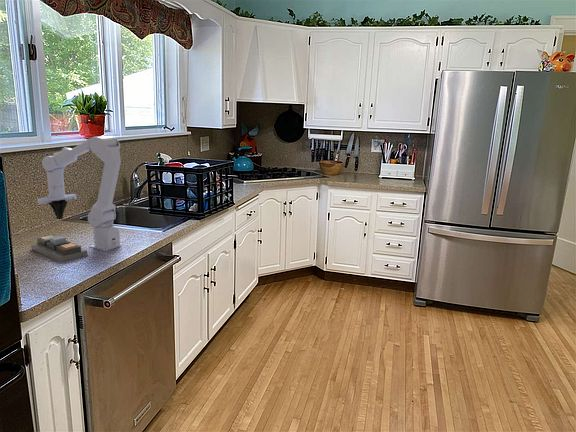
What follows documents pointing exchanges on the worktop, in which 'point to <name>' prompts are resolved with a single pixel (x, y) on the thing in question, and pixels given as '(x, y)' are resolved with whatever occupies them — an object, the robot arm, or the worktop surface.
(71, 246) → the terracotta key
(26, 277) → the worktop surface
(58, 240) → the slate blue key
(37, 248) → the key panel
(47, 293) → the worktop surface
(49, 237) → the off-white key
